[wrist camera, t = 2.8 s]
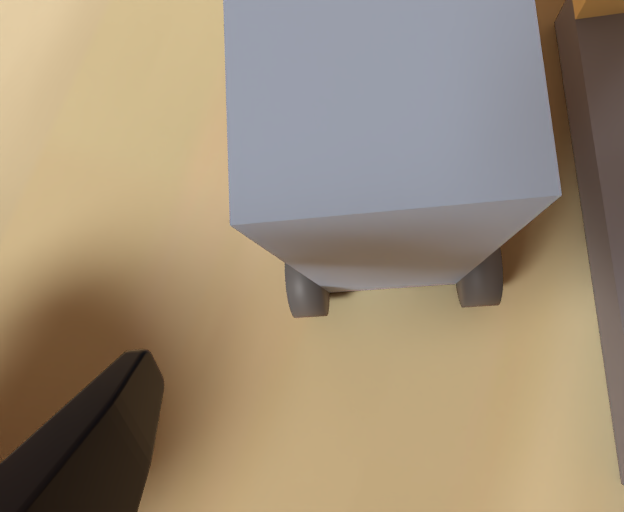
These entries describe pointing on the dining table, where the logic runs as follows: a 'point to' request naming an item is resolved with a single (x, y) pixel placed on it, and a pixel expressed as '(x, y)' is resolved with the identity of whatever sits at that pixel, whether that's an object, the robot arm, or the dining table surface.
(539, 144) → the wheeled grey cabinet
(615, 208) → the wooden frame
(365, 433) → the dining table surface
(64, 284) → the dining table surface
